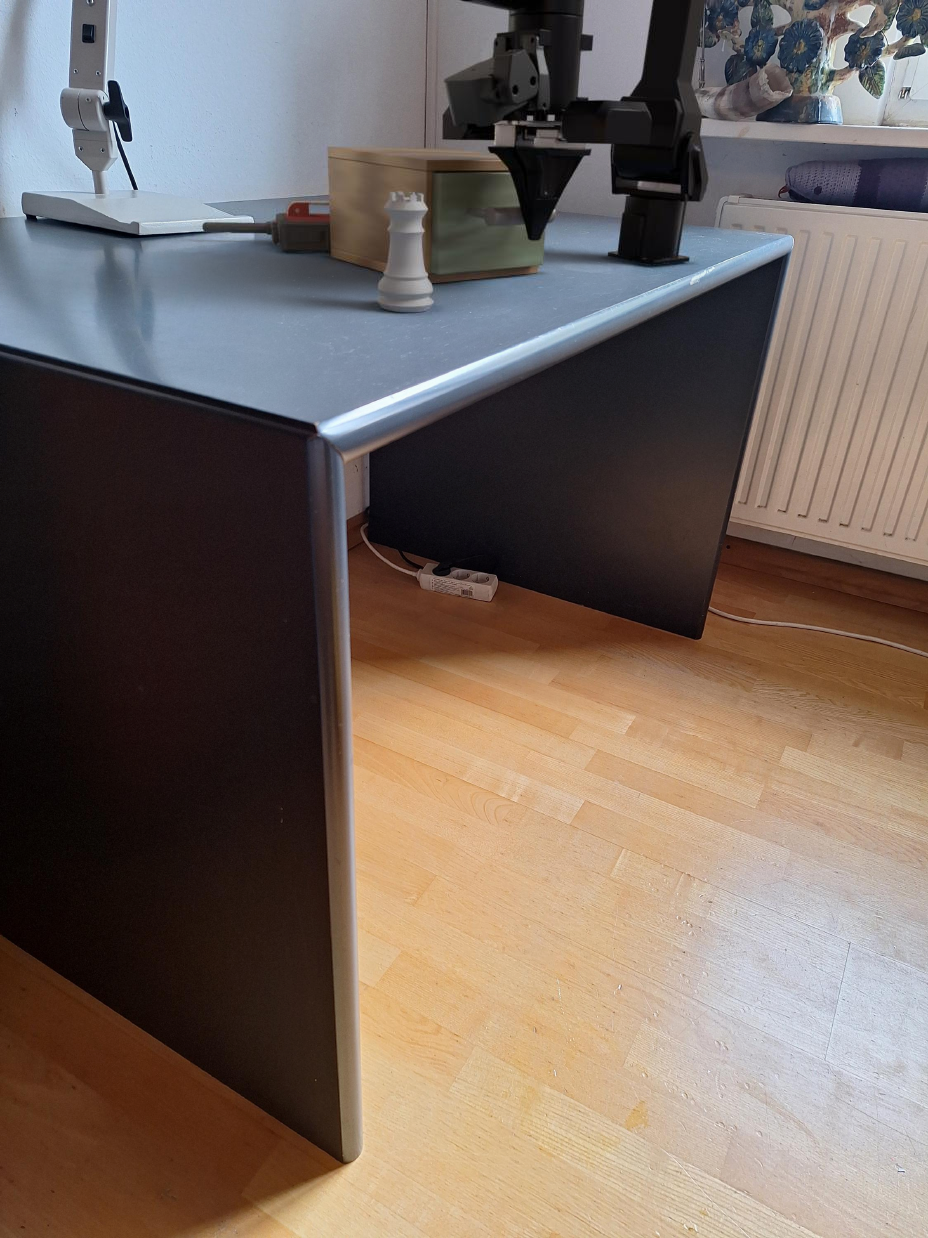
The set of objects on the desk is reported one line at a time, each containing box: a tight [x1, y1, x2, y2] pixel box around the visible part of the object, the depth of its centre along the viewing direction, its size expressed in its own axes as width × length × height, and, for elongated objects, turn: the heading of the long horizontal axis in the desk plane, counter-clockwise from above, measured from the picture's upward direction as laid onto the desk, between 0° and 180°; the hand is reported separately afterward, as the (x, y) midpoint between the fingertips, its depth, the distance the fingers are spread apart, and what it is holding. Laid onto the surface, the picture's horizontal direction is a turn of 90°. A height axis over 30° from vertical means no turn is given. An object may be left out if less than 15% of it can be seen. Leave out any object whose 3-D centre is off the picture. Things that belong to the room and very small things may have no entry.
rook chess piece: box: [376, 192, 435, 313], centre depth 65 cm, size 4×4×8 cm
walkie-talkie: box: [201, 199, 331, 253], centre depth 90 cm, size 9×4×20 cm
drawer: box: [431, 171, 557, 275], centre depth 80 cm, size 18×12×8 cm
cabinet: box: [326, 146, 539, 284], centre depth 82 cm, size 16×14×10 cm
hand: (533, 240), depth 73 cm, fingers closed
